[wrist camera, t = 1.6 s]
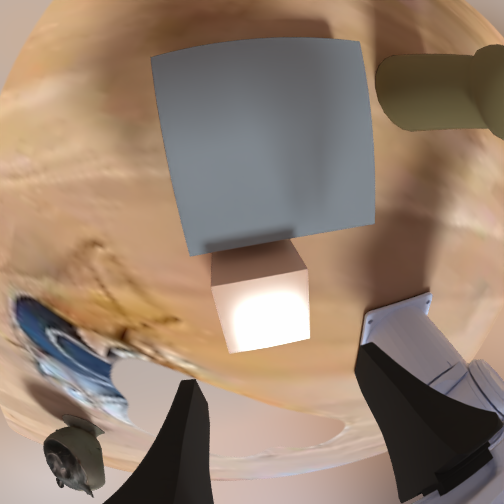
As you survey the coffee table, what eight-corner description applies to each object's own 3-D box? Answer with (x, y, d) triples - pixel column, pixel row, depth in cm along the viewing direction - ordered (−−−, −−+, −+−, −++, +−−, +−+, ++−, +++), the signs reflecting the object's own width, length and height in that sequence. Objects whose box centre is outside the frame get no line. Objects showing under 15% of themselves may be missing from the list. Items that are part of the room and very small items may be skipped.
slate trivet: (353, 209, 18) (374, 223, 15) (194, 235, 17) (189, 256, 15) (338, 52, 13) (359, 41, 10) (162, 69, 13) (150, 57, 10)
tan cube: (291, 293, 20) (309, 338, 16) (226, 305, 20) (229, 353, 16) (285, 233, 18) (307, 269, 14) (212, 246, 18) (210, 286, 14)
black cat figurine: (68, 400, 25) (46, 414, 26) (47, 473, 14) (28, 473, 16) (126, 435, 29) (95, 444, 31) (118, 504, 18) (86, 501, 20)
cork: (359, 77, 14) (493, 56, 4) (406, 43, 13) (522, 24, 3) (405, 146, 16) (532, 185, 6) (445, 107, 15) (558, 126, 5)
